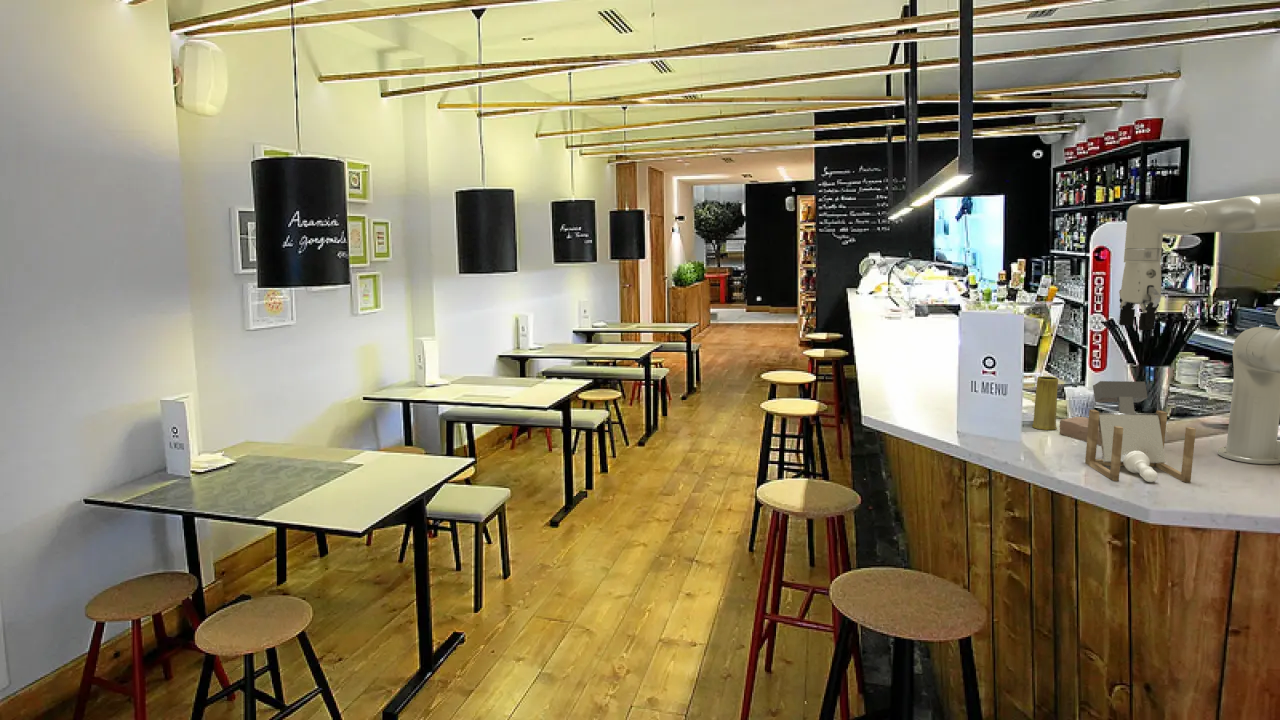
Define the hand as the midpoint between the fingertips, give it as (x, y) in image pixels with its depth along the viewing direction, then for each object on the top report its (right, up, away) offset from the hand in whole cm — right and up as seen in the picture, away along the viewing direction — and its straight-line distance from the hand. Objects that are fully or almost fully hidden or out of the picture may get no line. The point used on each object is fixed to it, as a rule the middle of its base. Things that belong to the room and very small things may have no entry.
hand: (1136, 327), depth 194 cm
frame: (-8, -34, -12) cm, 37 cm away
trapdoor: (-7, -23, -5) cm, 25 cm away
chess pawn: (-8, -31, -12) cm, 34 cm away
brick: (0, -30, +18) cm, 34 cm away
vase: (-7, -27, +30) cm, 41 cm away
